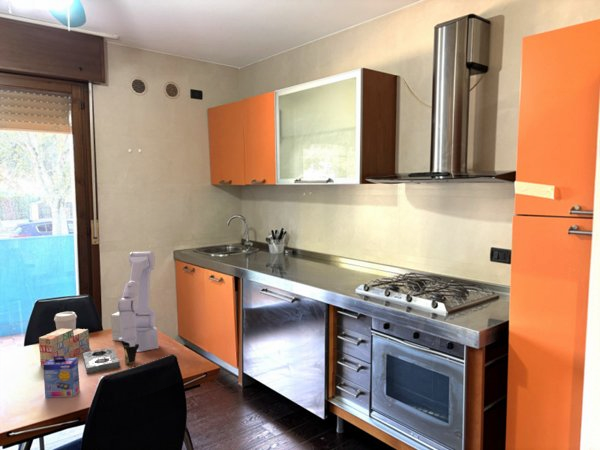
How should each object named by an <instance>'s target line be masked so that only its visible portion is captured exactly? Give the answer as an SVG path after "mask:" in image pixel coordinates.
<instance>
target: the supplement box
mask: <svg viewBox="0 0 600 450" xmlns="http://www.w3.org/2000/svg"><path fill="white" fill-rule="evenodd" d="M110 317H111V318H110V319H111V320H110V321H111V334H112V335H111V337H112V341H116V342H117V341H119V338H121V337H122V331H121V317H120V315H119V311H117V312H114V313H112V314H111V315H110Z"/></svg>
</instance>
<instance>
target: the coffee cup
mask: <svg viewBox="0 0 600 450" xmlns="http://www.w3.org/2000/svg"><path fill="white" fill-rule="evenodd" d="M77 318H78V316H77V314H76V312H74V311H63V312H59V313H56V314H55V315H54V319H53V321H54V322H55V327H56V331H57V330H59V329H61V328H62V329H73V330H75V329H77V328H76V327H77V326H76V325H77Z"/></svg>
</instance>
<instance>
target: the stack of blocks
mask: <svg viewBox="0 0 600 450" xmlns="http://www.w3.org/2000/svg"><path fill="white" fill-rule="evenodd" d="M38 341H39V344H38V348H39V355H40V356H39V359H40V360H39V361H40V367H43V364H44V363H46V362H47V361H48V360H49V359H54V358H53V356H64V358H65V359H66V358H75V357H77V356H78V355H80V354H83V353H85V352H87V351H88V350H90V335H89V329H88V328H86V329H85V328H83V329H82V328H76V329H75V330H73V329H62V328H61V329H59V330H57V329H56V330H54V331H51V332H50V333H47V334H45V335H43V336H39V337H38ZM56 359H59V358H56ZM61 359H63V358H61Z"/></svg>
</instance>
